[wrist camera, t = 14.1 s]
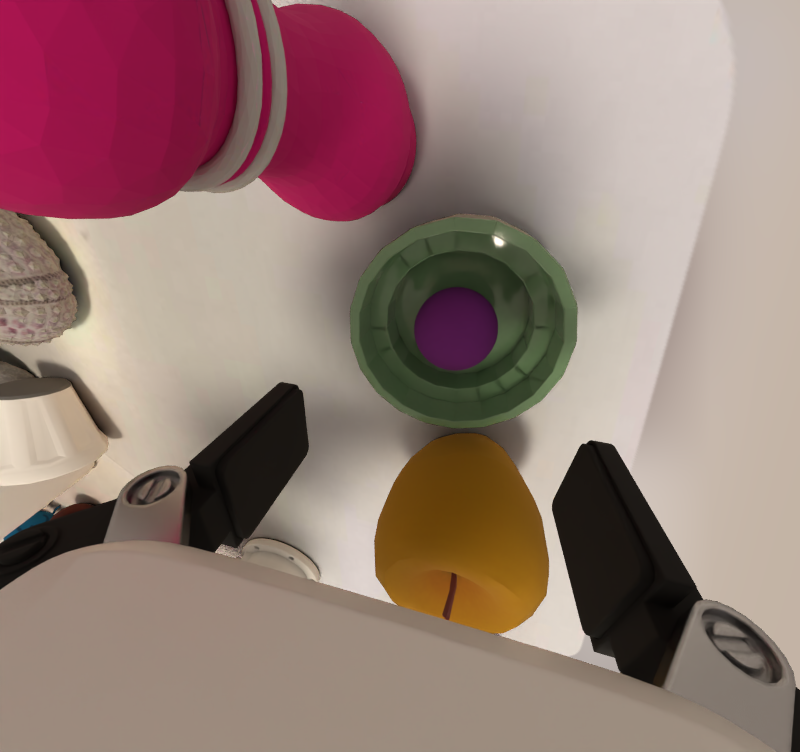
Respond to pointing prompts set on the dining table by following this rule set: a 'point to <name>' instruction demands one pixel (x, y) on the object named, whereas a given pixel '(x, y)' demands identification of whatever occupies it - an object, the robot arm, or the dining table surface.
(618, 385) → the dining table surface
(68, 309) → the sea urchin shell
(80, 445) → the cup
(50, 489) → the can
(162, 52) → the pepper mill
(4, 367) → the stone
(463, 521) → the apple
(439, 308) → the ball
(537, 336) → the bowl
